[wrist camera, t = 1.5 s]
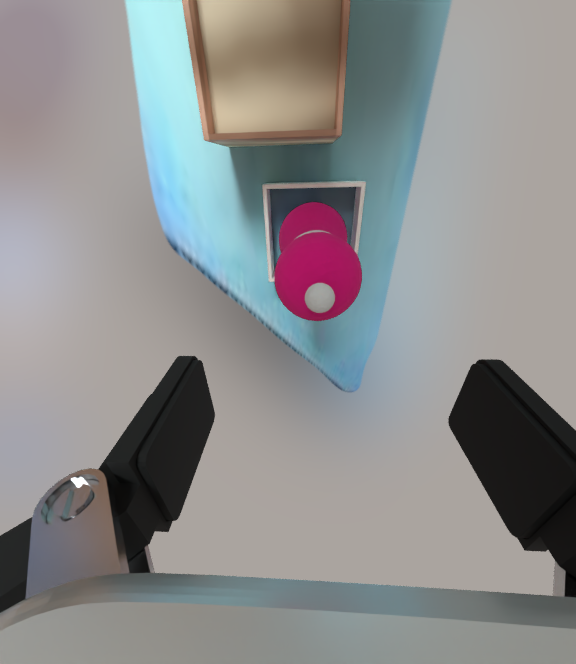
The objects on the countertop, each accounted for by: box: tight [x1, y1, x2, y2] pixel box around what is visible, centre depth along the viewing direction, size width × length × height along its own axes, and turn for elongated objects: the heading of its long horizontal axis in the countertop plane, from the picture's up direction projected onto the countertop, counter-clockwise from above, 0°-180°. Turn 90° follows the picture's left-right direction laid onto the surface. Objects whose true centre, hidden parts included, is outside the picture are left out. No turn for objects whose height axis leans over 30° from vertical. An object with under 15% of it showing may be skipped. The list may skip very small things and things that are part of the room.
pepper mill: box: [274, 202, 362, 321], centre depth 23 cm, size 7×7×20 cm
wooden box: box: [182, 0, 350, 147], centre depth 21 cm, size 11×11×8 cm
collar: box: [262, 181, 366, 282], centre depth 30 cm, size 10×10×3 cm
